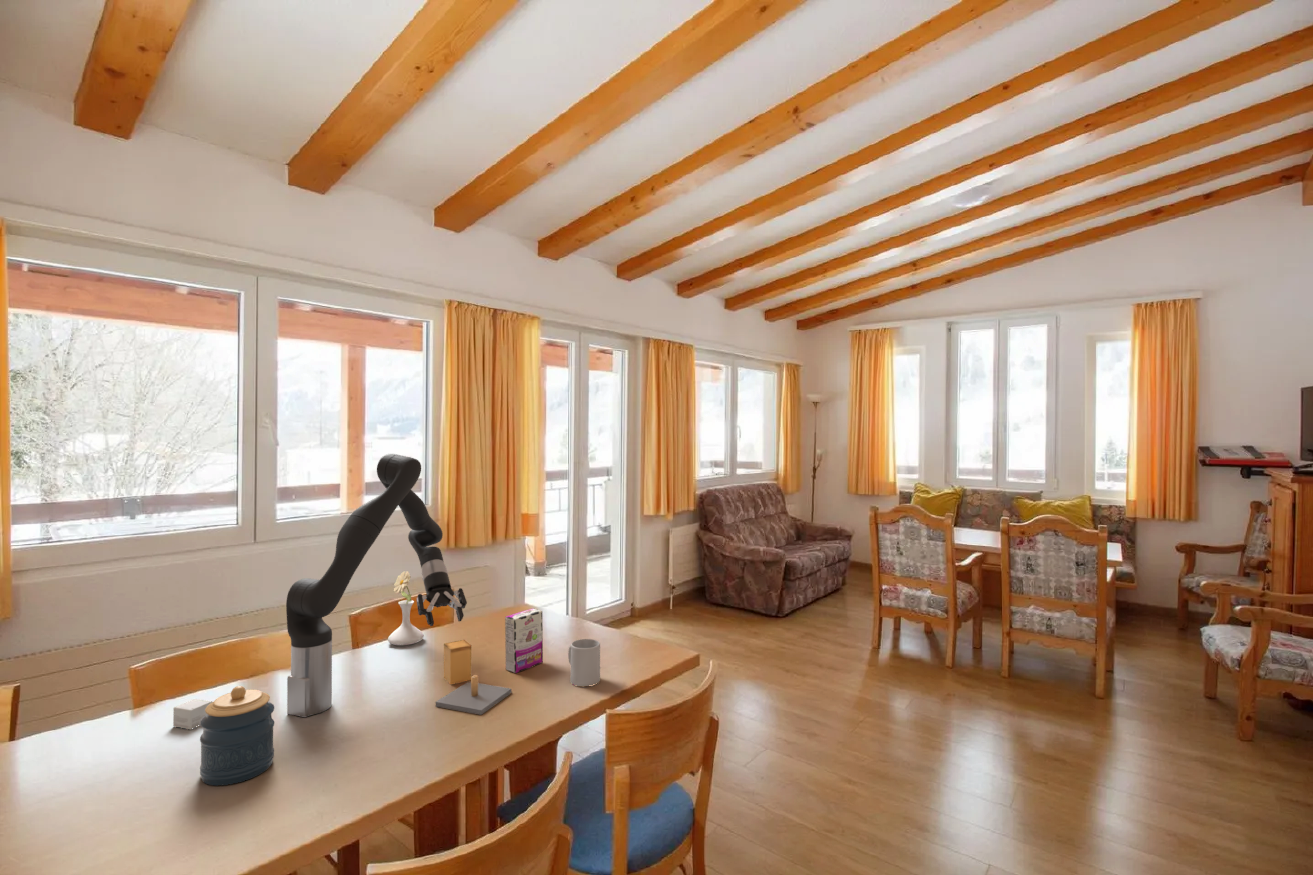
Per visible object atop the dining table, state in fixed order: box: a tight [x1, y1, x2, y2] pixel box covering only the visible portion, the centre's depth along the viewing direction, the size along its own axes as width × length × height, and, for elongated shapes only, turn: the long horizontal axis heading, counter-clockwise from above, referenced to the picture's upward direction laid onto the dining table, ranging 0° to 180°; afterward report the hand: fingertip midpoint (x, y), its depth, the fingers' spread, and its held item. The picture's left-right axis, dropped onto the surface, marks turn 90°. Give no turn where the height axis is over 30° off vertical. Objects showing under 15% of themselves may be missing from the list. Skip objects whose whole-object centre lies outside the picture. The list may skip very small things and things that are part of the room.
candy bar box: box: [504, 608, 544, 674], centre depth 188 cm, size 11×5×16 cm, turn 143°
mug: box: [567, 638, 601, 687], centre depth 179 cm, size 12×8×11 cm
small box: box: [172, 698, 213, 730], centre depth 150 cm, size 6×6×5 cm
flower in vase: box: [387, 570, 425, 646], centre depth 208 cm, size 13×11×25 cm
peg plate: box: [435, 674, 513, 716], centre depth 165 cm, size 14×14×6 cm
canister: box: [199, 685, 275, 787], centre depth 130 cm, size 13×13×18 cm
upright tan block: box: [443, 639, 472, 685], centre depth 179 cm, size 6×6×10 cm
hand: (446, 622), depth 187 cm, fingers open, 8 cm apart
